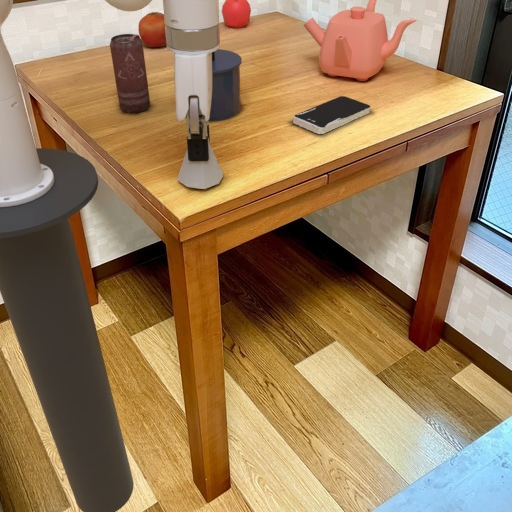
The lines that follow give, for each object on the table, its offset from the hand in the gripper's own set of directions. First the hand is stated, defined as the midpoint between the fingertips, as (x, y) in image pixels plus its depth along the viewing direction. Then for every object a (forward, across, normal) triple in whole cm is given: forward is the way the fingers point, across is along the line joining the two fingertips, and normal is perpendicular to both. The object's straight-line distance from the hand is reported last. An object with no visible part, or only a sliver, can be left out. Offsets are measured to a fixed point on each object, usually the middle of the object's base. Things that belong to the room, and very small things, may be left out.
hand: (199, 153), depth 94 cm
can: (+6, -30, -15) cm, 34 cm away
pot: (+5, -28, +1) cm, 29 cm away
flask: (+5, 0, 0) cm, 5 cm away
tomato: (+5, -69, -14) cm, 71 cm away
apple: (+5, -84, +6) cm, 84 cm away
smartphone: (+5, -23, +24) cm, 34 cm away
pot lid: (-4, -28, +1) cm, 29 cm away
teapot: (+5, -48, +33) cm, 58 cm away
